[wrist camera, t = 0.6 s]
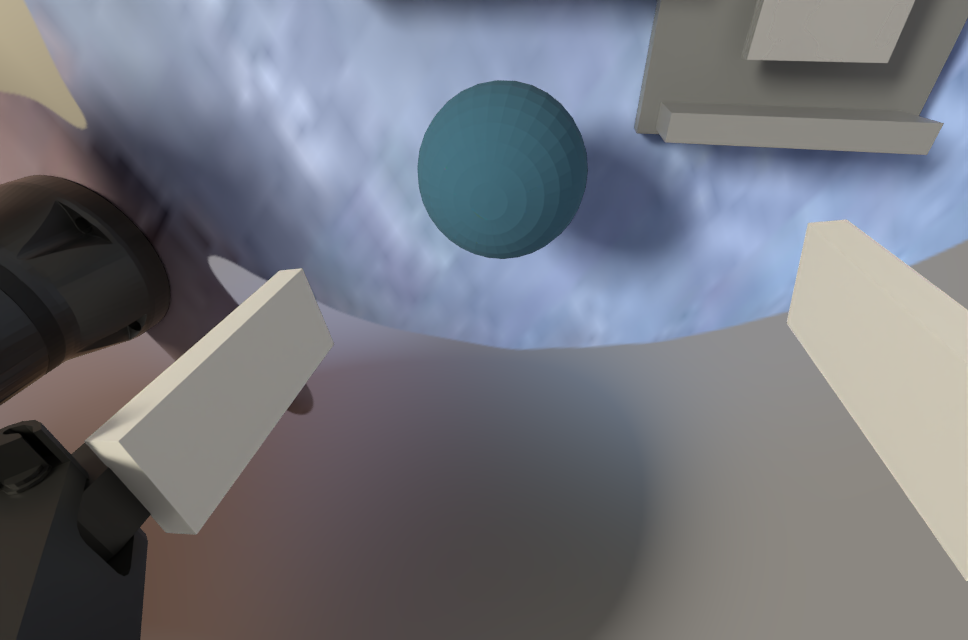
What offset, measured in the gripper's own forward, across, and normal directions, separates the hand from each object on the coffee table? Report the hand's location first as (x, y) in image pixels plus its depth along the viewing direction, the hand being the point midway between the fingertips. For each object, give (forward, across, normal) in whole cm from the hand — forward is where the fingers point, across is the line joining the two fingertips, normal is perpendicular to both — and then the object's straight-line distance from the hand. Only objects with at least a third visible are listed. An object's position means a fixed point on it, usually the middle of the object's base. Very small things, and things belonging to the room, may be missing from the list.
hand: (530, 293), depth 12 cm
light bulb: (+20, -2, 0) cm, 20 cm away
